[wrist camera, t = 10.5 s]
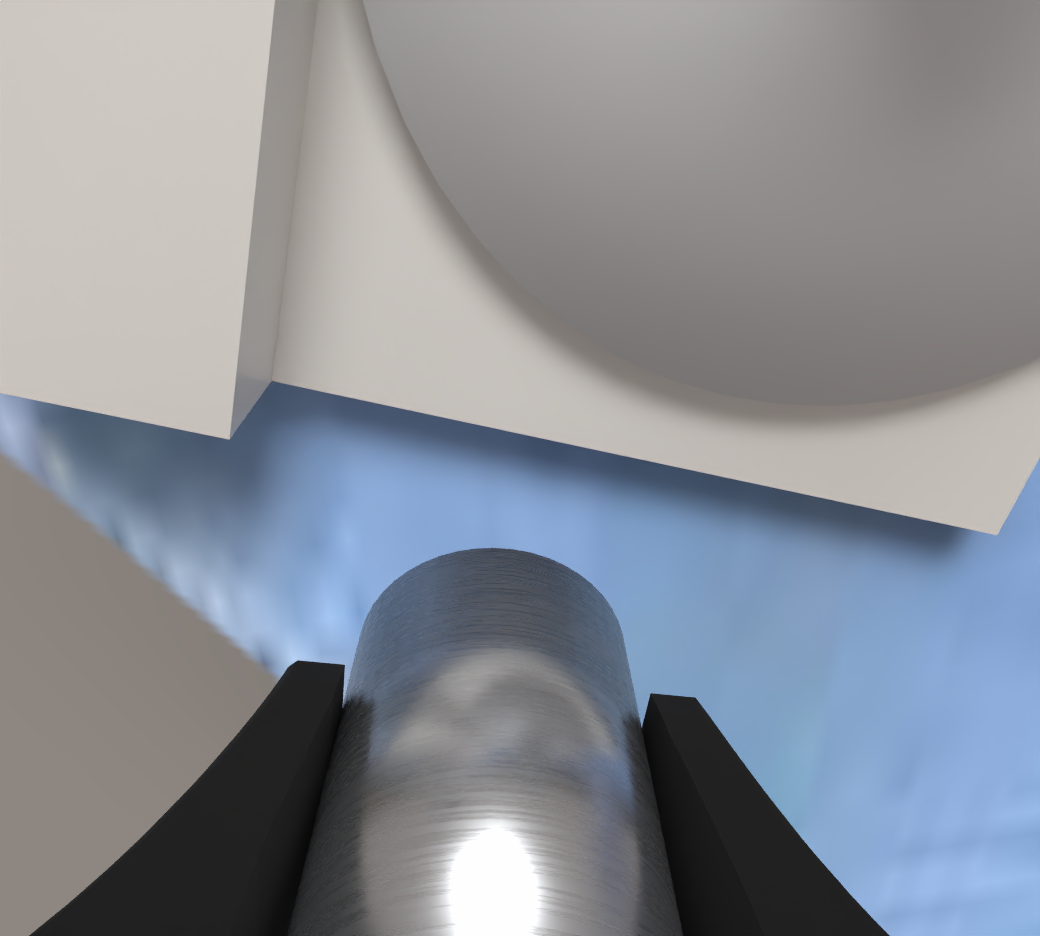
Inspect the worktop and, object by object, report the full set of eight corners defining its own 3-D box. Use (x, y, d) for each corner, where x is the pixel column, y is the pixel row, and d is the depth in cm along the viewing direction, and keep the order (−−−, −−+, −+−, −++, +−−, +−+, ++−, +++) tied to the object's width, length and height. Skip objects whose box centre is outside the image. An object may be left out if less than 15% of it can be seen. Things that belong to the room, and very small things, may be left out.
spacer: (664, 585, 12) (789, 1014, 7) (575, 780, 14) (620, 1246, 8) (391, 518, 12) (294, 927, 6) (334, 730, 13) (220, 1195, 8)
